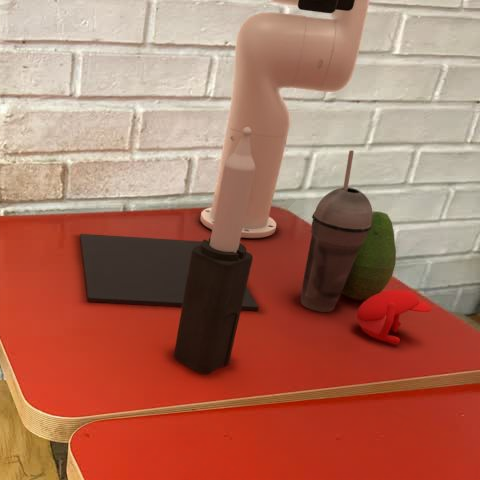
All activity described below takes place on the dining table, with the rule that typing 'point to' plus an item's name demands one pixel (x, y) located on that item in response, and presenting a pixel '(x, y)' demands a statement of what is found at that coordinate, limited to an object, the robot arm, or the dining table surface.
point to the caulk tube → (218, 273)
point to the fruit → (373, 260)
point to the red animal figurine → (387, 313)
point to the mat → (139, 270)
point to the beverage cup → (334, 244)
